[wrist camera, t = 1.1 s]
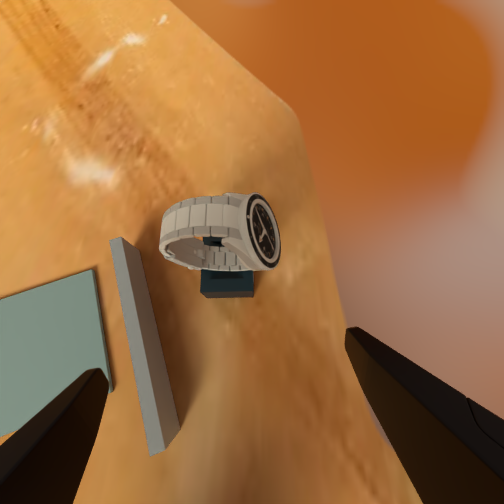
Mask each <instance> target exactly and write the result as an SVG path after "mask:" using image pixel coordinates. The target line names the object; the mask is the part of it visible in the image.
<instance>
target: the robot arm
mask: <svg viewBox="0 0 504 504" xmlns="http://www.w3.org/2000/svg"><path fill="white" fill-rule="evenodd" d="M345 349H346V352H347V354H348V357H349V359H350V361H351V364H352V366H353V369H354V371H355V373H356V376H357V378H358V381H359V383H360V385H361V388H362V390H363V392H364V394H365V396H366V398H367V400H368V402H369V404H370V405H371V407H372V409H373V411H374V413H375V415H376V417H377V418H378V420H379V422H380V424H381V426H382V428H383V429H384V431H385V433H386V435H387V437H388V439H389V441H390V443H391V445H392V446H393V448H394V450H395V452H396V454H397V456H398V458H399V460H400V461H401V463H402V465H403V467H404V469H405V471H406V473H407V474H408V476H409V478H410V480H411V482H412V484H413V486H414V487H415V489H416V491H417V493H418V495H419V497H420V499H421V501H422V502H423V504H504V420H503V419H502V418H500V417H498V416H497V415H495V414H493V413H492V412H490V411H489V410H487V409H485V408H484V407H482V406H481V405H479V404H478V403H476V402H475V401H473V400H471V399H470V398H466V396H465V395H463V394H462V393H460V392H459V391H457V390H456V389H454V388H453V387H451V386H449V385H448V384H446V383H445V382H443V381H442V380H440V379H438V378H437V377H435V376H434V375H432V374H431V373H429V372H428V371H426V370H424V369H423V368H421V367H420V366H418V365H417V364H415V363H413V362H412V361H411V360H409V359H407V358H406V357H404V356H403V355H401V354H400V353H398V352H397V351H395V350H393V349H392V348H390V347H389V346H387V345H386V344H384V343H383V342H381V341H379V340H378V339H376V338H375V337H373V336H372V335H370V334H369V333H367V332H365V331H364V330H362V329H361V328H359V327H350V328H347V329H346V334H345ZM108 392H109V381H108V379H107V378H106V376H105V374H104V372H103V370H102V369H101V368H92V369H88V370H86V371H85V372H83V373H82V374H81V375H80V376H79V377H78V378H77V379H75V380H74V381H73V382H72V383H71V384H70V385H69V386H68V387H66V388H65V389H64V390H63V391H62V392H61V393H60V394H58V395H57V396H56V397H55V398H54V399H53V400H52V401H50V402H49V403H48V404H47V405H46V406H45V407H44V408H43V409H41V410H40V411H39V412H38V413H37V414H36V415H35V416H33V417H32V418H31V419H30V420H29V421H28V422H27V423H25V424H24V425H23V426H22V427H21V428H20V429H19V430H18V431H16V432H15V433H14V434H13V435H12V436H11V437H10V438H8V439H7V440H6V441H5V442H4V443H3V444H2V445H0V504H73V501H74V499H75V496H76V493H77V490H78V488H79V485H80V482H81V479H82V476H83V474H84V471H85V468H86V465H87V463H88V460H89V457H90V454H91V451H92V449H93V446H94V443H95V440H96V437H97V433H98V430H99V426H100V422H101V419H102V415H103V411H104V407H105V403H106V399H107V396H108Z"/></svg>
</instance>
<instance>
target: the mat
mask: <svg viewBox="0 0 504 504" xmlns="http://www.w3.org/2000/svg"><path fill="white" fill-rule="evenodd" d="M92 368H101V369H102V370H103V372H104V374H105V376H106V378H107V379H108V381H109V392H108V393H111V392H113V386H112V380H111V374H110V367H109V361H108V354H107V348H106V342H105V335H104V329H103V323H102V316H101V310H100V304H99V297H98V291H97V285H96V278H95V272H94V270H92V269H91V270H88V271H85V272H82V273H79V274H76V275H73V276H70V277H67V278H64V279H61V280H58V281H55V282H52V283H49V284H46V285H43V286H40V287H37V288H34V289H31V290H28V291H25V292H22V293H19V294H16V295H13V296H10V297H7V298H4V299H1V300H0V437H1V436H3V435H6V434H8V433H11V432H13V431H16V430H18V429H20V428H21V427H22V426H23V425H24V424H25V423H27V422H28V421H29V420H30V419H31V418H32V417H33V416H35V415H36V414H37V413H38V412H39V411H40V410H41V409H43V408H44V407H45V406H46V405H47V404H48V403H49V402H50V401H52V400H53V399H54V398H55V397H56V396H57V395H58V394H60V393H61V392H62V391H63V390H64V389H65V388H66V387H68V386H69V385H70V384H71V383H72V382H73V381H74V380H75V379H77V378H78V377H79V376H80V375H81V374H82V373H83V372H85V371H86V370H88V369H92Z"/></svg>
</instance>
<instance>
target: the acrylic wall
mask: <svg viewBox="0 0 504 504" xmlns="http://www.w3.org/2000/svg"><path fill="white" fill-rule="evenodd" d="M109 241H110V247H111V252H112V257H113V263H114V268H115V273H116V279H117V284H118V289H119V295H120V300H121V305H122V311H123V316H124V321H125V327H126V332H127V337H128V343H129V348H130V353H131V359H132V364H133V369H134V374H135V380H136V385H137V390H138V396H139V401H140V406H141V412H142V417H143V422H144V428H145V433H146V438H147V444H148V449H149V454H150V456H153V455H155V454H157V453H159V452H162V451H164V450H166V448H167V447H168V446H169V444H170V443H171V442H172V440H173V439H174V438H175V436H176V435H177V434H178V432H179V431H180V430H181V429H180V425H179V420H178V416H177V412H176V407H175V403H174V399H173V394H172V390H171V386H170V381H169V377H168V373H167V368H166V364H165V360H164V355H163V351H162V347H161V342H160V338H159V334H158V329H157V325H156V321H155V316H154V312H153V308H152V303H151V299H150V295H149V290H148V286H147V282H146V277H145V273H144V269H143V264H142V260H141V256H140V251H139V250H138V249H137V248H135V247H134V246H133V245H131V244H130V243H129V242H127V241H126V240H125V239H124V238H122V237H118V238H115V239H112V240H109Z"/></svg>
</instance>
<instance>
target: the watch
mask: <svg viewBox="0 0 504 504" xmlns="http://www.w3.org/2000/svg"><path fill="white" fill-rule="evenodd" d="M194 236H196V237H203V241H201V240H198V239H196V238H194ZM159 250H160V252H161V253H162V254H163V255H164V258H165V259H167V260H169V261H172V262H174V263H176V264H179V265H182V266H185V267H188V269H196V270H201V287H200V293H202V294H203V295H204V296H205V297H206V298H233V297H253V284H254V275H253V271H260V270H272V269H274V268H276V266H277V265H278V263H279V260H280V254H281V242H280V234H279V229H278V225H277V222H276V219H275V216H274V213H273V211H272V209H271V207H270V205H269V204H268V202H267V201H266V200H265V198H264V197H263V196H261V195H260V194H259V193H256V192H253V193H251V194H248V195H245V194H239V193H225V194H223V196H212V197H211V196H203V197H196V198H190V199H186V200H183V201H182V202H178V203H176V204H174V205H172V206H171V208H169V209H168V210H167V211H166V212H165V213H164V215H163V218H162V226H161V235H160V244H159Z"/></svg>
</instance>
